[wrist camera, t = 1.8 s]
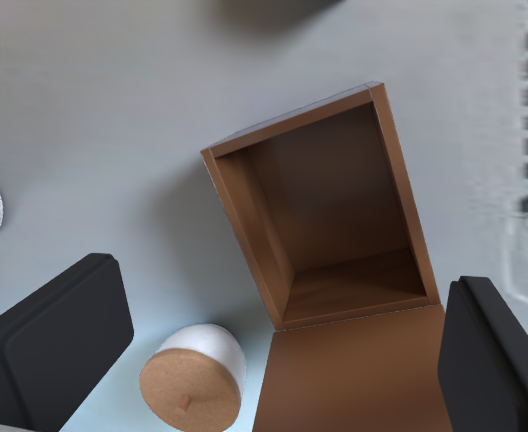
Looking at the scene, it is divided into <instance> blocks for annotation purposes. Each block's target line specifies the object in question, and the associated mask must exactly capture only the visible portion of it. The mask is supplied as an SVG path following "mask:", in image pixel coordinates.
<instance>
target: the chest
mask: <svg viewBox="0 0 528 432" xmlns="http://www.w3.org/2000/svg"><path fill="white" fill-rule="evenodd" d="M200 153H201V156H202V158H203V161H204V163H205V165H206V168H207V170H208V172H209V175H210V177H211V179H212V182H213V184H214V186H215V189H216V191H217V193H218V196H219V198H220V200H221V203H222V205H223V208H224V210H225V212H226V215H227V217H228V219H229V222H230V224H231V226H232V229H233V231H234V233H235V236H236V238H237V240H238V243H239V245H240V247H241V250H242V252H243V255H244V257H245V259H246V262H247V264H248V266H249V269H250V271H251V273H252V276H253V278H254V280H255V283H256V285H257V287H258V290H259V292H260V294H261V297H262V299H263V302H264V304H265V306H266V309H267V311H268V313H269V316H270V318H271V320H272V323H273V325H274V327H275V330H276V331H283V330H290V329H296V328H302V327H308V326H313V325H319V324H325V323H331V322H337V321H343V320H349V319H355V318H361V317H366V316H372V315H378V314H384V313H390V312H396V311H402V310H408V309H414V308H419V307H425V306H432V305H438V304H441V301H440V297H439V293H438V289H437V286H436V282H435V278H434V274H433V270H432V266H431V262H430V259H429V255H428V251H427V247H426V243H425V239H424V236H423V232H422V228H421V224H420V220H419V216H418V212H417V209H416V205H415V201H414V197H413V193H412V189H411V186H410V182H409V178H408V174H407V170H406V166H405V162H404V159H403V155H402V151H401V147H400V143H399V139H398V136H397V132H396V128H395V124H394V120H393V116H392V112H391V109H390V105H389V101H388V97H387V93H386V89H385V86H384V83H381V82H377V81H370V82H368V83H365V84H363V85H360V86H357V87H355V88H352V89H349V90H347V91H344V92H341V93H339V94H336V95H334V96H331V97H328V98H326V99H323V100H320V101H318V102H315V103H312V104H310V105H307V106H304V107H302V108H299V109H297V110H294V111H291V112H289V113H286V114H283V115H281V116H278V117H275V118H273V119H270V120H268V121H265V122H262V123H260V124H257V125H254V126H252V127H249V128H246V129H244V130H241V131H238V132H236V133H234V134H232V135H230V136H228V137H226V138H224V139H223V140H221V141H219V142H217V143H215V144H213V145H211V146H209V147H207V148H205V149H204V150H202V151H200Z"/></svg>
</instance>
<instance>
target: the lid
mask: <svg viewBox="0 0 528 432" xmlns="http://www.w3.org/2000/svg"><path fill="white" fill-rule="evenodd" d="M445 315H446V313H445V311H444V308H443V305H442V304H439V305H433V306H427V307H421V308H416V309H410V310H404V311H398V312H392V313H386V314H380V315H374V316H368V317H362V318H357V319H351V320H345V321H339V322H333V323H327V324H321V325H315V326H309V327H303V328H298V329H292V330H286V331H280V332H274V333H273V337H272V342H271V347H270V351H269V356H268V360H267V365H266V369H265V374H264V379H263V383H262V388H261V392H260V397H259V402H258V406H257V411H256V415H255V420H254V425H253V429H252V432H453V430H452V426H451V423H450V419H449V416H448V412H447V409H446V405H445V402H444V398H443V395H442V391H441V388H440V384H439V381H438V373H437V367H438V360H439V353H440V347H441V340H442V334H443V328H444V321H445Z"/></svg>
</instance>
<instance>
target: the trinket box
mask: <svg viewBox="0 0 528 432" xmlns="http://www.w3.org/2000/svg"><path fill="white" fill-rule="evenodd" d="M246 372H247V369H246V361H245V357H244V354H243V351H242V349H241V347H240V345H239V344H238V342H237V341H236V339H235V338H234V336H233V335H232V334H231V333H230V332H229V331H228V330H226V329H225V328H223V327H221V326H219V325H216V324H209V323H207V324H194V325H190V326H186V327H184V328H182V329H180V330H178V331H176V332H175V333H173V334H172V335H171V336H170V337H169V338H168V339H167V340H165V341H164V343H163V344H162V345H161V346H160V347H159V348H158V349H157V351H156V352H155V353H154V355H153V356H152V357H151V358H150V359H149V360H148V362H147V363H146V364H145V366H144V367H143V369H142V371H141V374H140V390H141V393H142V396H143V398H144V400H145V402H146V403H147V405H148V406H149V408H150V409H151V410H152V412H154V413H155V414H156V415H157V416H158V417H159V418H160V419H161V420H163V421H164V422H165V423H167V424H169V425H170V426H172V427H174V428H176V429H178V430H181V431H184V432H222V431H224V430H226V429H228V428H229V427H230V426H231V425H232V424H233V423H234V422H235V420H236V419H237V416H238V413H239V410H240V407H241V400H242V397H243V393H244V390H245V384H246Z"/></svg>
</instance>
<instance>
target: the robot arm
mask: <svg viewBox="0 0 528 432" xmlns="http://www.w3.org/2000/svg"><path fill="white" fill-rule="evenodd" d="M2 220H3V204H2V199H1V195H0V227H1V223H2ZM133 336H134V329H133V324H132V320H131V316H130V311H129V307H128V302H127V298H126V294H125V289H124V285H123V281H122V276H121V272H120V267H119V263H118V261H117V260H116V259H114V257H113V256H112V255H111V254H103V253H90V254H88V255H87V256H85V257H84V258H83V259H81V260H80V261H78V262H77V263H75V264H74V265H72V266H71V267H70V268H68V269H67V270H65V271H64V272H62V273H61V274H59V275H58V276H57V277H55V278H54V279H52V280H51V281H49V282H48V283H46V284H45V285H44V286H42V287H41V288H39V289H38V290H36V291H35V292H33V293H32V294H30V295H29V296H28V297H26V298H25V299H23V300H22V301H20V302H19V303H17V304H16V305H15V306H13V307H12V308H10V309H9V310H7V311H6V312H4V313H3V314H2V315H0V432H59V431H60V429H61V428H62V427H63V426H64V424H65V423H66V422H67V421H68V420H69V418H70V417H71V416H72V415H73V413H74V412H75V411H76V410H77V409H78V407H79V406H80V405H81V404H82V402H83V401H84V400H85V399H86V397H87V396H88V395H89V394H90V393H91V391H92V390H93V389H94V388H95V386H96V385H97V384H98V383H99V381H100V380H101V379H102V378H103V377H104V375H105V374H106V373H107V372H108V370H109V369H110V368H111V367H112V366H113V364H114V363H115V362H116V361H117V359H118V358H119V357H120V356H121V354H122V353H123V352H124V351H125V350H126V348H127V347H128V346H129V345H130V343H131V342H132V340H133ZM437 373H438V381H439V384H440V388H441V391H442V395H443V398H444V402H445V405H446V409H447V412H448V416H449V419H450V423H451V426H452V430H453V432H528V335H527V333H526V332H525V331H524V329H523V328H522V326H521V325H520V323H519V322H518V320H517V319H516V317H515V316H514V314H513V313H512V311H511V310H510V308H509V307H508V305H507V304H506V302H505V301H504V300H503V298H502V297H501V295H500V294H499V292H498V291H497V289H496V288H495V286H494V285H493V283H492V282H491V280H490V279H489V278H487V277H473V276H461V277H460V279H459V281H452V282H451V284H450V290H449V296H448V302H447V309H446V315H445V321H444V328H443V334H442V340H441V347H440V353H439V360H438V367H437Z"/></svg>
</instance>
